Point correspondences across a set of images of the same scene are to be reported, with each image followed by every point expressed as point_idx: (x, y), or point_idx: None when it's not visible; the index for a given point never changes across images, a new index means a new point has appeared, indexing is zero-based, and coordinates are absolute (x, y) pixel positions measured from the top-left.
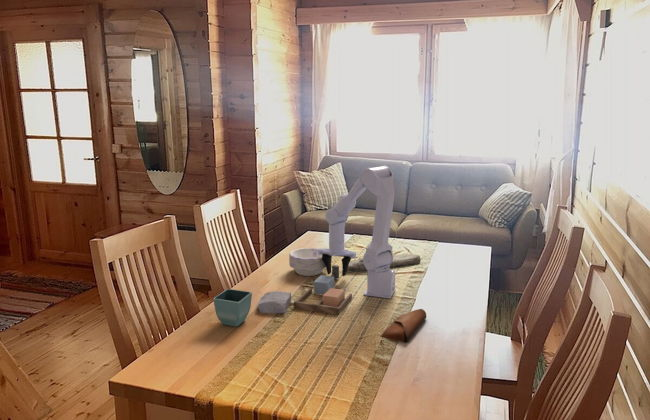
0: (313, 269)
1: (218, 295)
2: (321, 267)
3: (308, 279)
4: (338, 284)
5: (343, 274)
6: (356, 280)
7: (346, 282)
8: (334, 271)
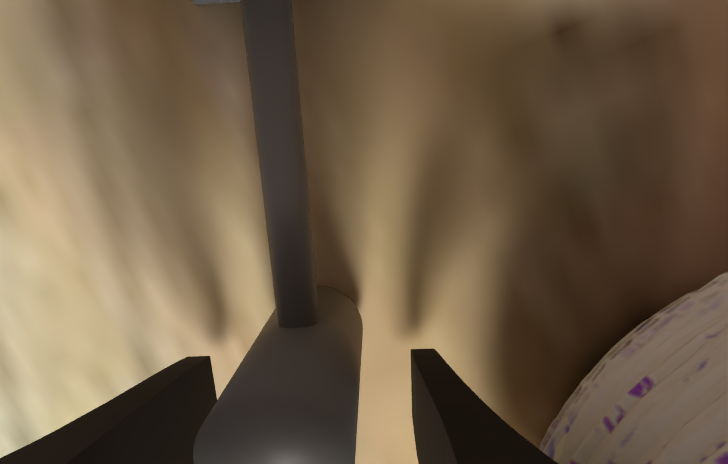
0: (719, 296)
1: None
2: (590, 425)
3: (656, 195)
4: (213, 174)
5: (177, 365)
6: (89, 374)
7: (158, 275)
8: (286, 339)
